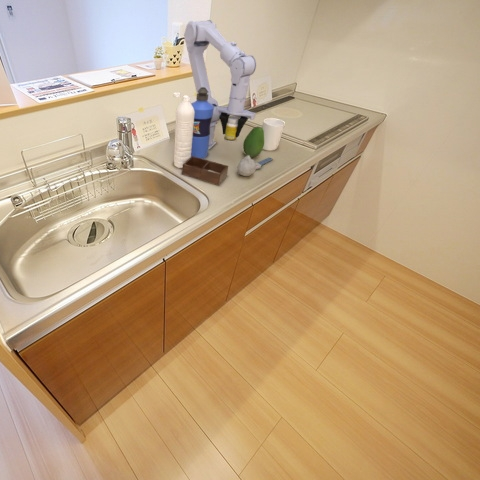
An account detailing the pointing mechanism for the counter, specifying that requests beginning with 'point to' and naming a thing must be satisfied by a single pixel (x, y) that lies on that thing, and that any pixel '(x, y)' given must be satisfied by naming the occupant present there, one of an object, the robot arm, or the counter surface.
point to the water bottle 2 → (201, 124)
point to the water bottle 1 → (183, 131)
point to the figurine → (246, 166)
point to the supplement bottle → (231, 129)
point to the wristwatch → (261, 163)
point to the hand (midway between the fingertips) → (230, 134)
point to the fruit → (254, 142)
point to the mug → (272, 133)
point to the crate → (205, 170)
